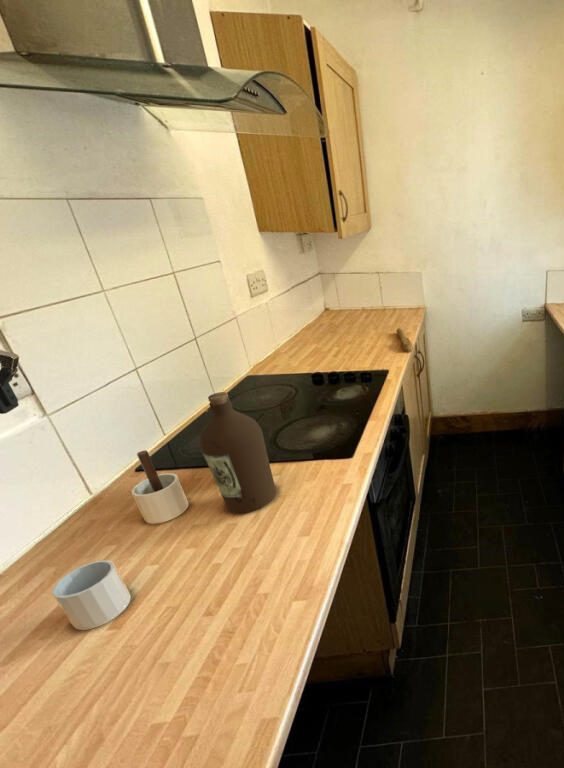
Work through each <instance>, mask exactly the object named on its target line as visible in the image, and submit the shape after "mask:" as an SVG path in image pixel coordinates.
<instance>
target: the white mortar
mask: <svg viewBox="0 0 564 768" xmlns="http://www.w3.org/2000/svg"><path fill="white" fill-rule="evenodd" d="M51 591H52V592H51V595H52V597H53V599H55V601H56V603H57V604H58V606H59V607H60V609H61V611H62V612H63V614H64V615H65V617H66V618H67V620H68V621H69V623H70V625H72V626H73V628H74V629H76V630H78V631H87V630H88V631H89V630H92V629H95V628H98V627H100V626H103V625H105V624H106V623H109V622H110V621H112V620H113V619H115V618H116V617H118V616H119V615H120V614H121V613H123V611H125V609H126V608H127V607H128V606H129V604H130V602H131V600H132V599H131V597H132V596H131V594H130V591H129V589H128V587H127V585H126V583H125V581H124V580H123V578H122V575H120V572H119V570H118V569H117V567H116V565H115V563H114V562H113V561H111V560H110V559H109V560H108V559H107V560H105V559H104V560H103V559H101V560H96V561H92V562H88V563H85V564H83V565H81V566H78V567H77V568H74V569H73V570H72V571H70V572H67V573H66V574H65V575H64V576H62V578H60V579H59V580H58V581H57V582H56V584H55V585H54V586H53V588H52V590H51Z"/></svg>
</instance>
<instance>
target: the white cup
mask: <svg viewBox="0 0 564 768" xmlns="http://www.w3.org/2000/svg"><path fill="white" fill-rule="evenodd" d="M158 477H159V479H160V481H161V484H162V486H163V488H164V489H162V490H160V491H157V492H154V491H153V489H152V487H151V485H150V483H149V480H148V478H146V479H143V480H141V481H140V482H138V483H137V484H136V485H135V486H134V487H133V488H132V489H131V495H132V497H133V499H134V501H135V503H136V505H137V508H138V509H139V512H140V514H141V516H142V518H143V520H144V521H145V522H146V523H147V524H151V525H152V524H153V525H156V524H162V523H166V522H168V521H171V520H173V519H175V518H177V517H178V516H181V515H182V514H183V513H184V512H185V511H186V510H187V509H188V508H189V500H188V499H187V495H186V493H185V491H184V488H183V486H182V483H181V482H180V479H179V477H178V475H177V474H176V473H171V472H170V473H167V472H166V473H161V474H160V473H159V474H158Z"/></svg>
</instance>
